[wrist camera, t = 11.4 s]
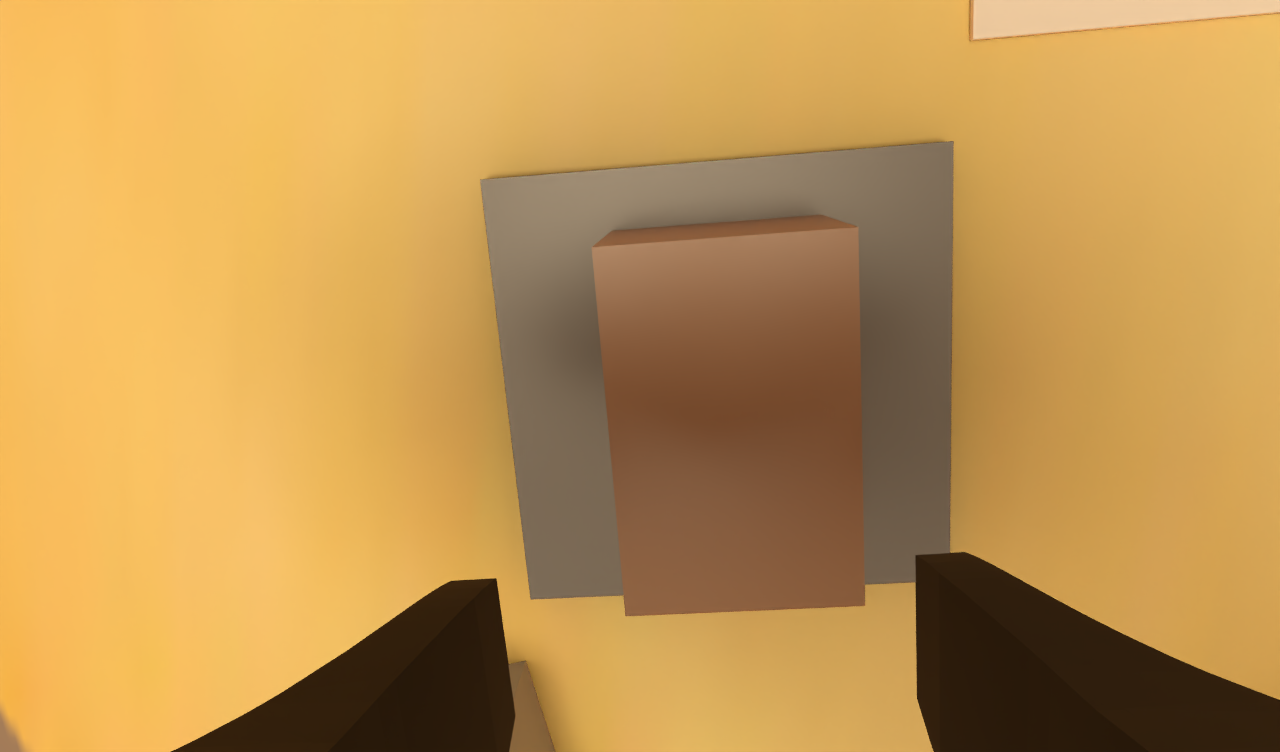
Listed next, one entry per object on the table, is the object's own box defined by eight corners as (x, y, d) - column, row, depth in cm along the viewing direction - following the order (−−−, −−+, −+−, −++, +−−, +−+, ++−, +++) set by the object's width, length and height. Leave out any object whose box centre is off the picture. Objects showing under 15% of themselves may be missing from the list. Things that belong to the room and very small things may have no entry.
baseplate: (945, 142, 18) (953, 141, 17) (942, 569, 20) (949, 580, 20) (486, 179, 19) (480, 179, 18) (535, 587, 21) (530, 599, 20)
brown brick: (821, 214, 18) (858, 227, 14) (830, 519, 20) (864, 605, 16) (611, 230, 18) (591, 247, 14) (637, 528, 20) (625, 616, 16)
